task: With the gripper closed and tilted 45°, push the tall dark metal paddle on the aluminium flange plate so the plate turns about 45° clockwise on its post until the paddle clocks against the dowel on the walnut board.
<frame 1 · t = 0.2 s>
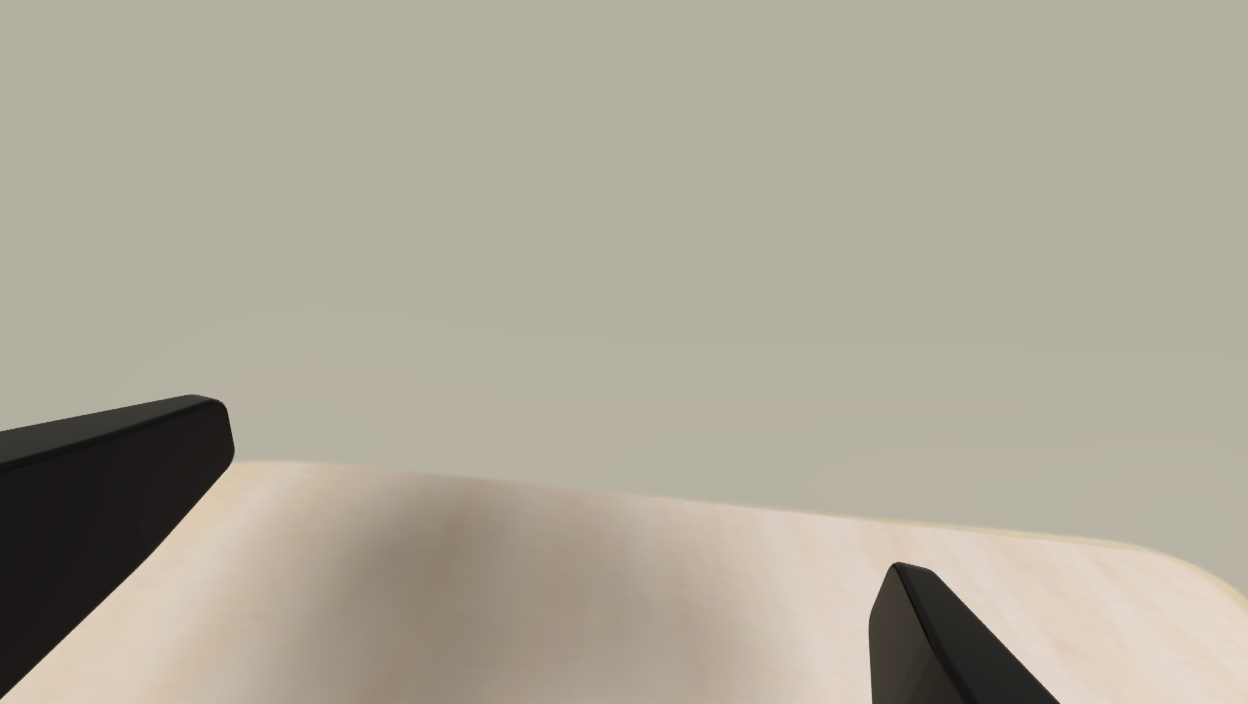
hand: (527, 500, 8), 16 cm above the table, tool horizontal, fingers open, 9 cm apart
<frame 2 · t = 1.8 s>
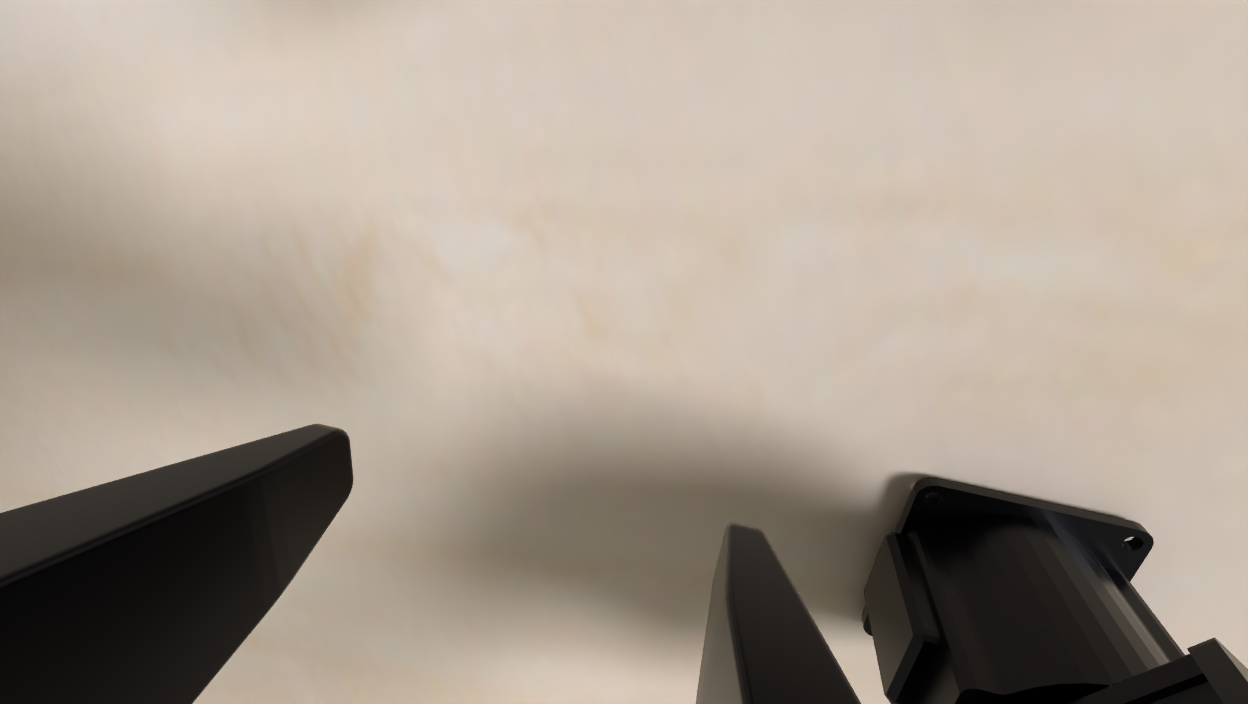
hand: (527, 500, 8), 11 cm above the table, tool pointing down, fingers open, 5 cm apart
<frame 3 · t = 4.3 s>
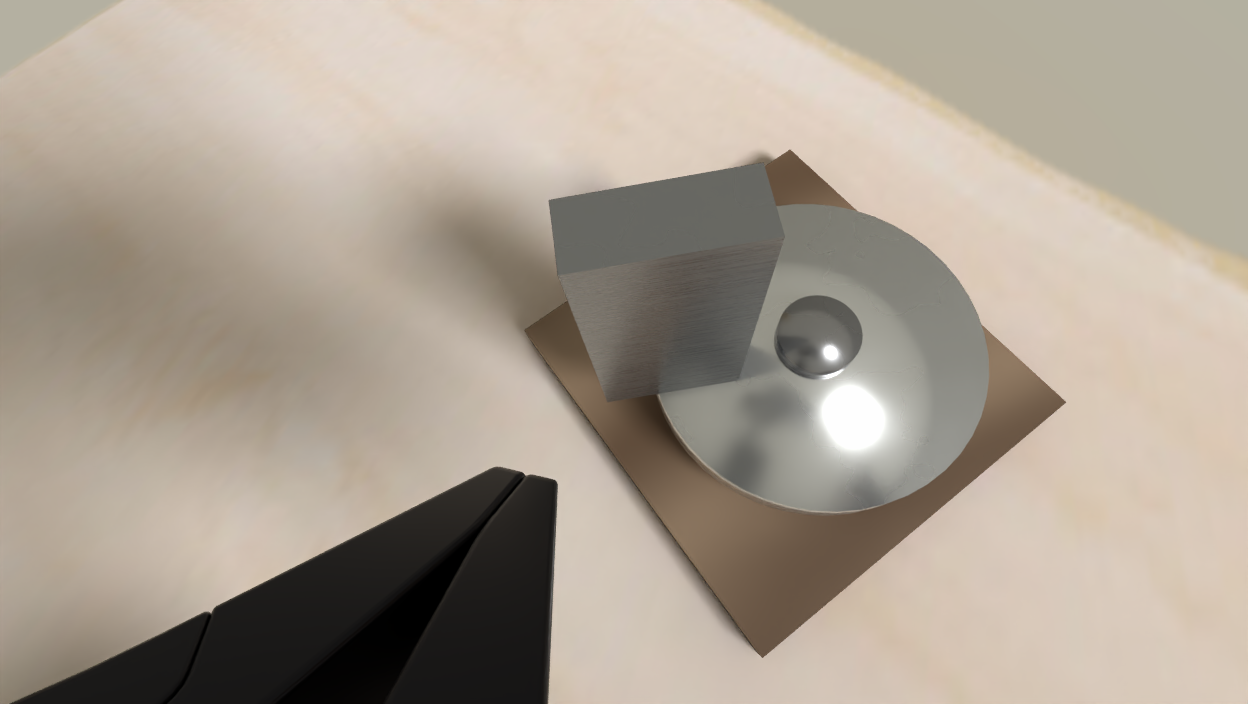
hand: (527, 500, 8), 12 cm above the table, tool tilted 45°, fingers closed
walnut board: (773, 373, 21), on the table
flange plate: (814, 296, 15), point 7 cm above the table, hinge at 0.0°
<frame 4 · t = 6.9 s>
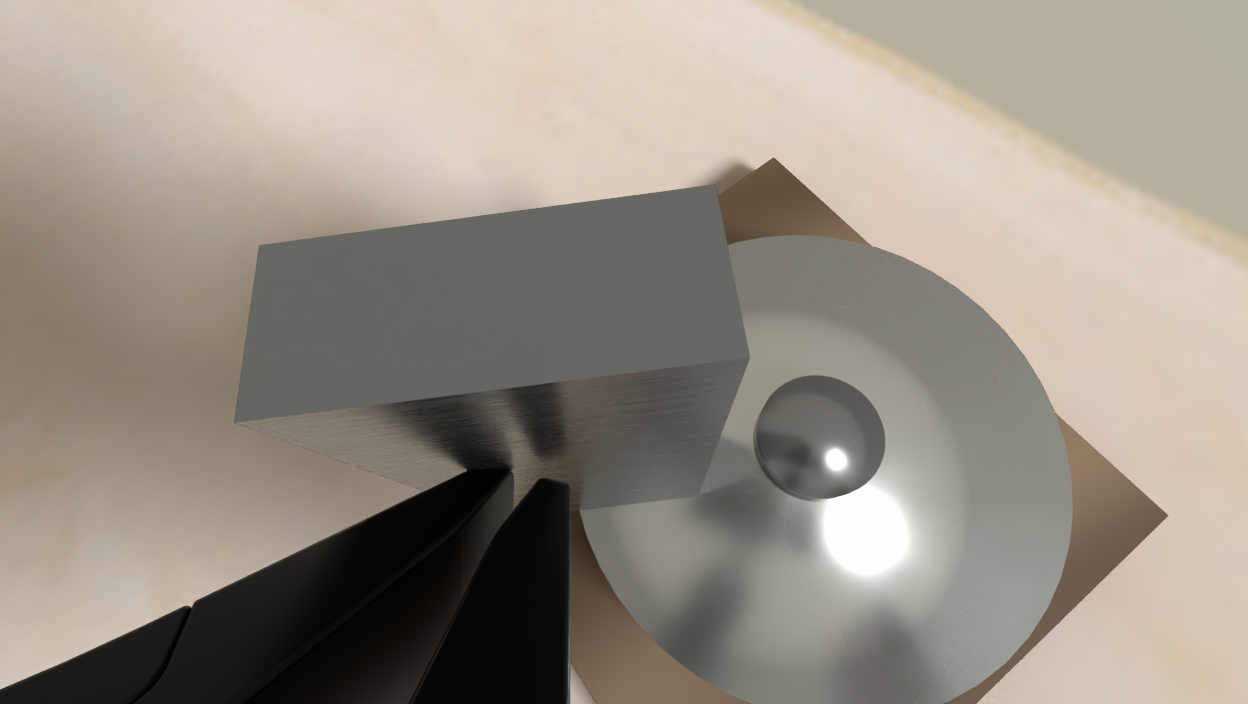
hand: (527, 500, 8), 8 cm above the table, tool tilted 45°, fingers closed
walnut board: (755, 465, 15), on the table
flange plate: (814, 400, 9), point 7 cm above the table, hinge at -3.3°, touching gripper
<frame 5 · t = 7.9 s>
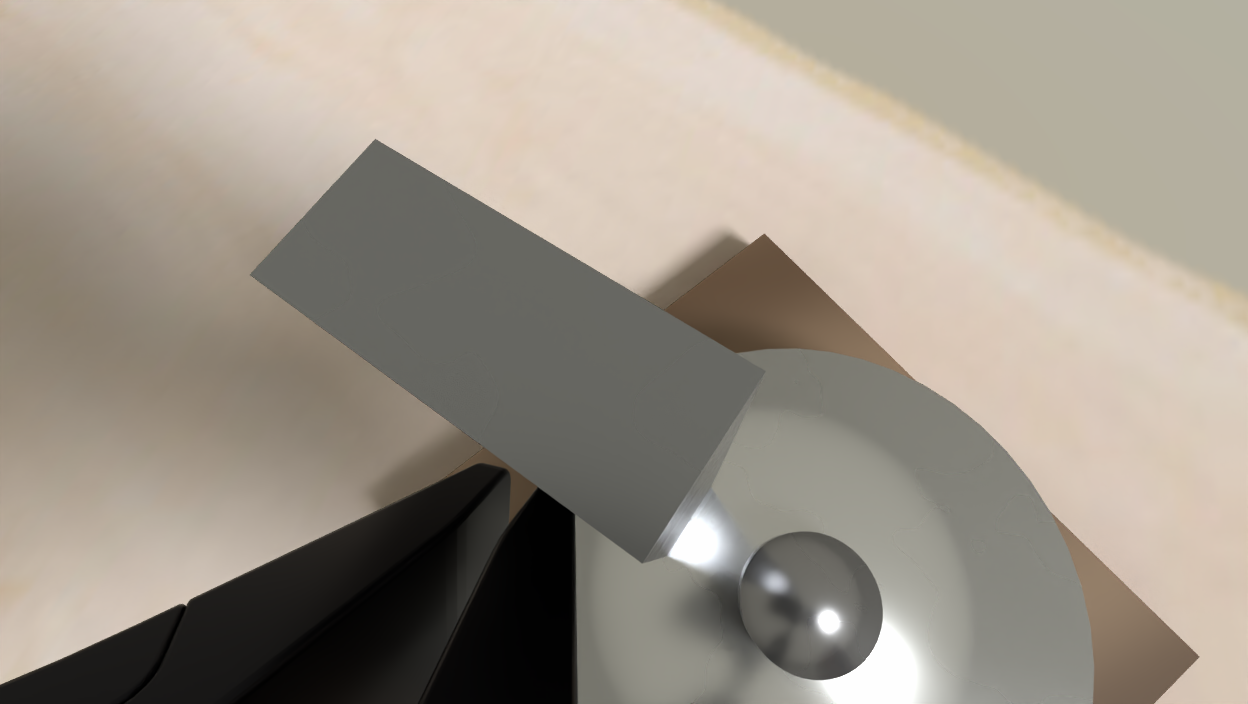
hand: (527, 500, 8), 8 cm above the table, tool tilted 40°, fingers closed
walnut board: (746, 585, 14), on the table
flange plate: (802, 584, 8), point 7 cm above the table, hinge at -45.1°, touching gripper, walnut board
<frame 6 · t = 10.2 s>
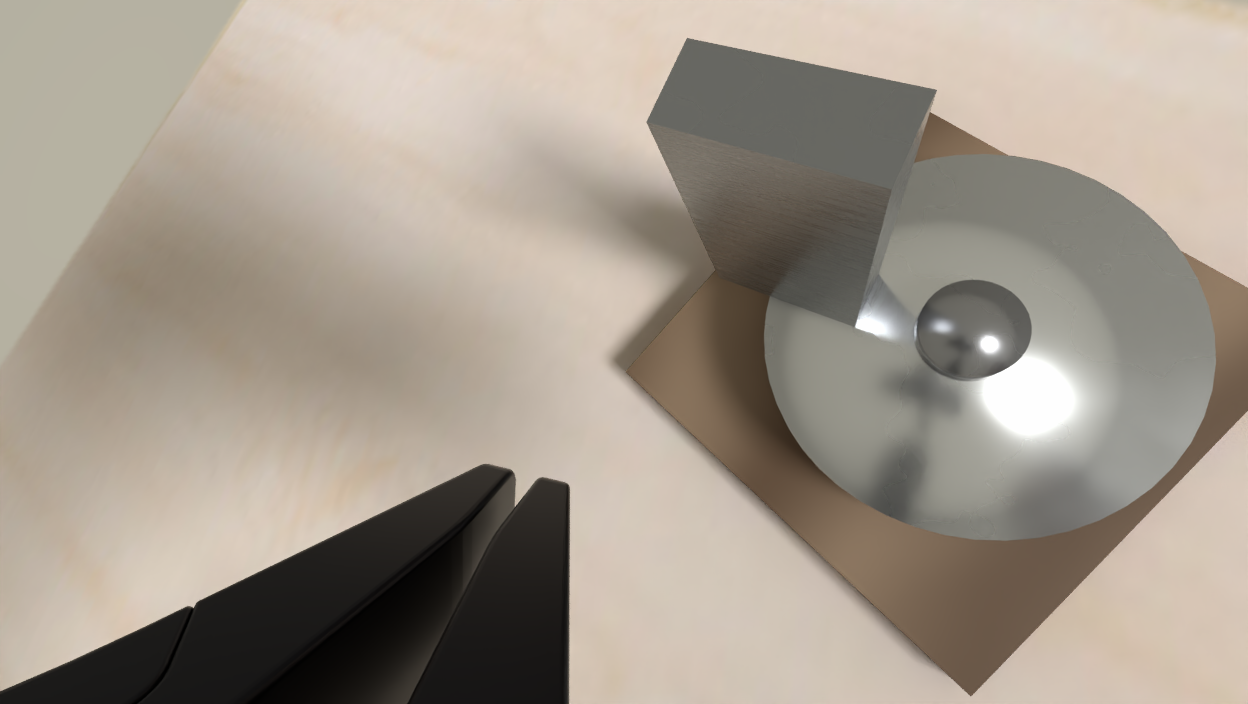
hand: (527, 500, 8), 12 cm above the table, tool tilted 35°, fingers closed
walnut board: (914, 360, 18), on the table
flange plate: (966, 282, 12), point 7 cm above the table, hinge at -45.0°, touching walnut board
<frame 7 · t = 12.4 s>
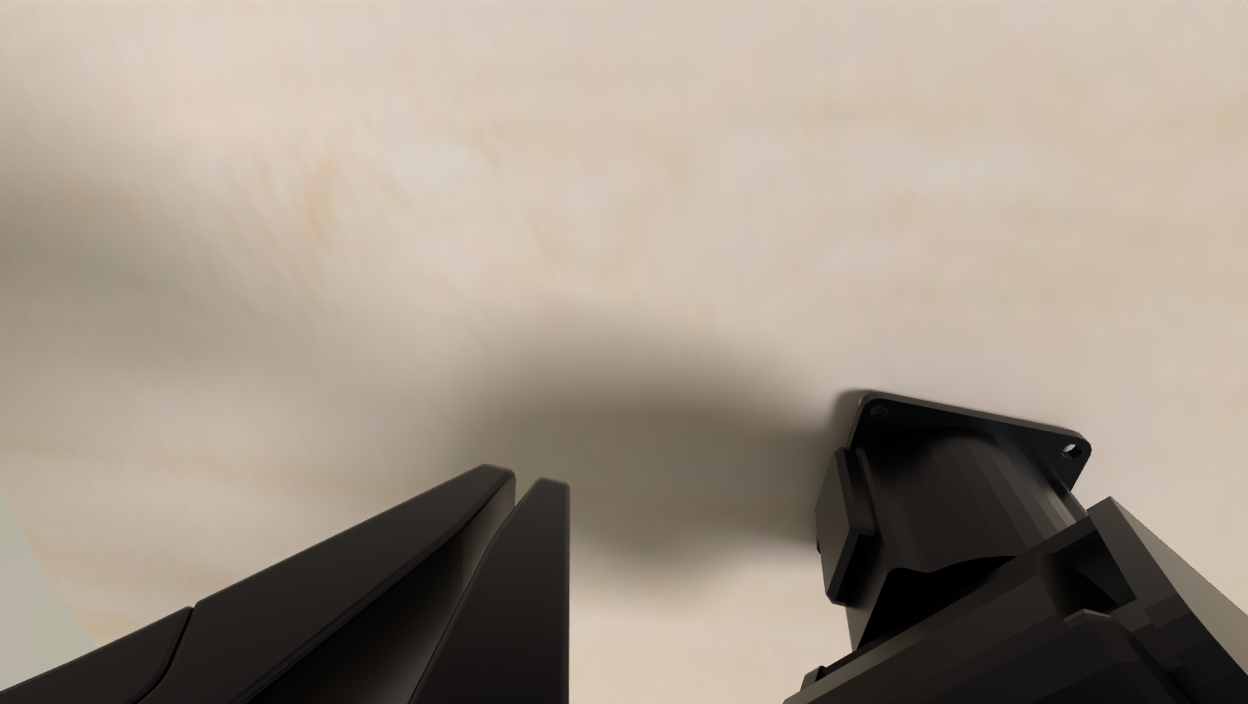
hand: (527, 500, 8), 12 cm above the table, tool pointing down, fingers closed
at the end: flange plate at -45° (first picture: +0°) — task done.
